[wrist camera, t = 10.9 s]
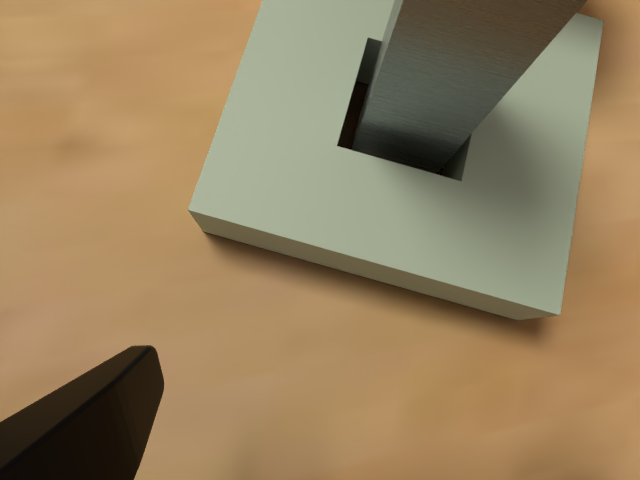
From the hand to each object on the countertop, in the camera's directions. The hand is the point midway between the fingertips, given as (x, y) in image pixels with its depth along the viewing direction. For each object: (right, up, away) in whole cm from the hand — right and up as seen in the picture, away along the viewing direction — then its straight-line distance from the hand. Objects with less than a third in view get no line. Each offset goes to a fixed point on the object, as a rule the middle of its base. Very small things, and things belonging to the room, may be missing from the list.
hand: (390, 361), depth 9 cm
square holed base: (+3, +9, +12) cm, 15 cm away
